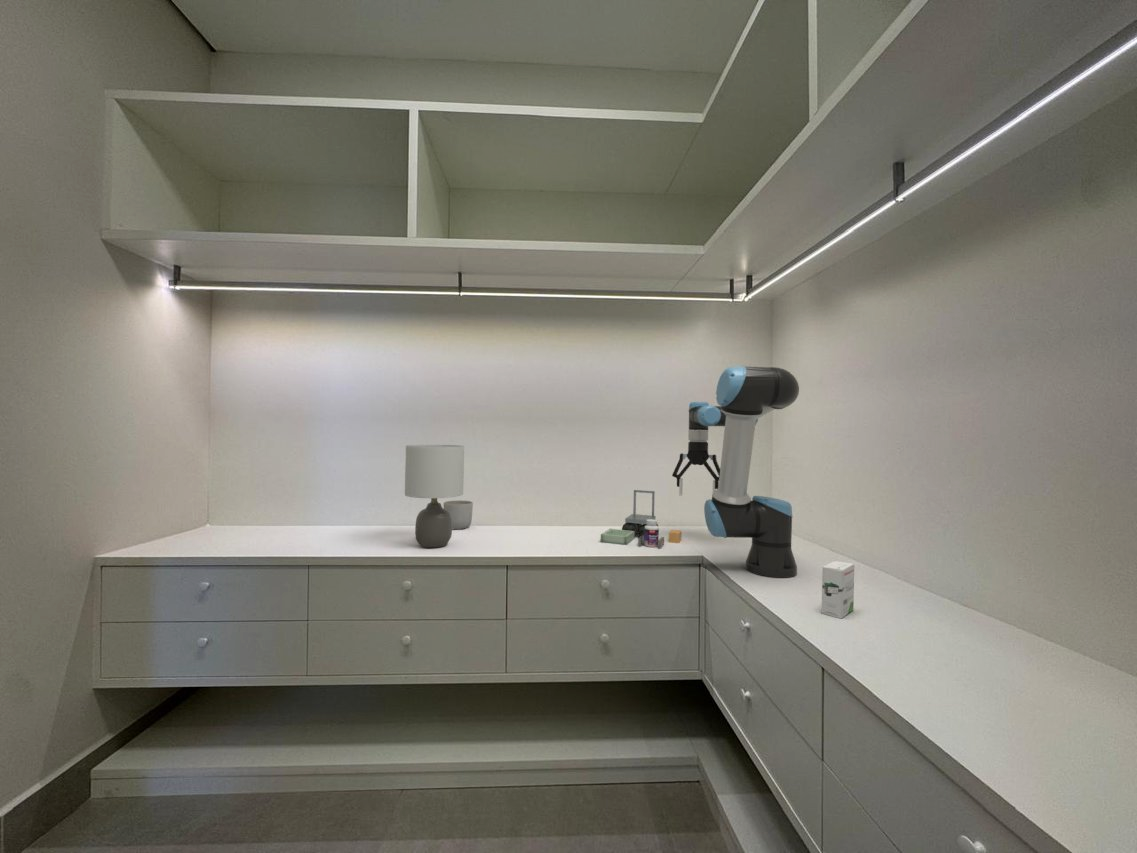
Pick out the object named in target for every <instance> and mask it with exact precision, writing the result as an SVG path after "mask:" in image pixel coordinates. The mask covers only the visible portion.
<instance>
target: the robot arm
mask: <svg viewBox="0 0 1137 853" xmlns="http://www.w3.org/2000/svg"><path fill="white" fill-rule="evenodd" d="M799 386H800V385H799V382H798V380H797V378H796V377H795V375H793V373H791V372H790V371H788V370H787V369H784V368H780V367H776V366H773V367H766V366H765V367H763V366H744V365H741V366H730V367H727V368H725V369H724V370H723V372H722V373H721V375H720V376H719V379H718V382H717V386H716V392H715V394H716V398H715V399H716V402H717V404H718V405H712V404H711V405H710V404H709V403H708V401H691V402H690V403H689V406H688V443H687V444H688V447H687V453H683V452H682V453H680V454H679V459H678V462H677V464H676V466H675V468H674V471H673V472H672V477H673V478H676V487H678V488H679V490H678V492H679V493H678V494H679V496H683V478H682V476H683V475H684V474H685V473H686V471H687V470H688V469H689V468H690V467H691V465H694V466H696V465H698V466H703V465H704V467H705V469H706V470H707V471H708V472H709V474H710V475H711V477H713V479H714V480H712V494H711V499H706V501H705V503H704V506H703V507H704V518H705V524H706V527H707V529H708V532H709V534H711V536H712V537H716V538H724V539H726V538H732V539H733V538H743V539H744V538H747V539H748V538H749V539H751V546H750V549H749V552H748V554H747V557H746V560H745V570H747V571H748V572H750V573H753V574H755V575H760V576H764V577H771V578H791V577H795V576H797V574H798V566H797V563H796V560H795V557H794V553H793V551H792V550H793V549H792V532H793V529H792V527H793V526H792V525H793V518H794V516H793V509H792V508H793V507H792V504H791V503H790V502H789V501H786V500H784V499H781V498H780V499H779V498H774V497H769V496H763V495H753V496H752V498H751V496H750V495H749V494H748V485H749V478H750V477H749V476H750V470H751V462H752V461H751V460H752V452H753V445H754V437H755V430H756V425H757V423H758V421H759V418H762V417H763V416H766V415H767V414H769V413H771V412H773V411H775V410H783V409H786V408H787V407H789V406H791V405H792V404H793V403H794V402H796V400H797V398H798V397H799V391H800V387H799ZM709 427H724V430H723V431H724V432H723V441H722V448H721V449H722V450H721V459H720V465H719V463H718V460H717V455H716V454H715V453H714V454H709V442H708V441H709ZM686 458H687V459H688V462H687V463H686V464H685V465H684V467H683V468H682V469H681V468H680V467H681V466H682V464H683V461H684V460H685V459H686ZM709 459H710V460H711V461H712V463H713V466H714V467H715V470H716V473H717V474H716V473H715V471H714V470H713V468H712V467H711V466H710V464H709V462H708V460H709ZM680 469H681V470H680ZM679 470H680V472H679V473H678V471H679Z"/></svg>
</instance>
